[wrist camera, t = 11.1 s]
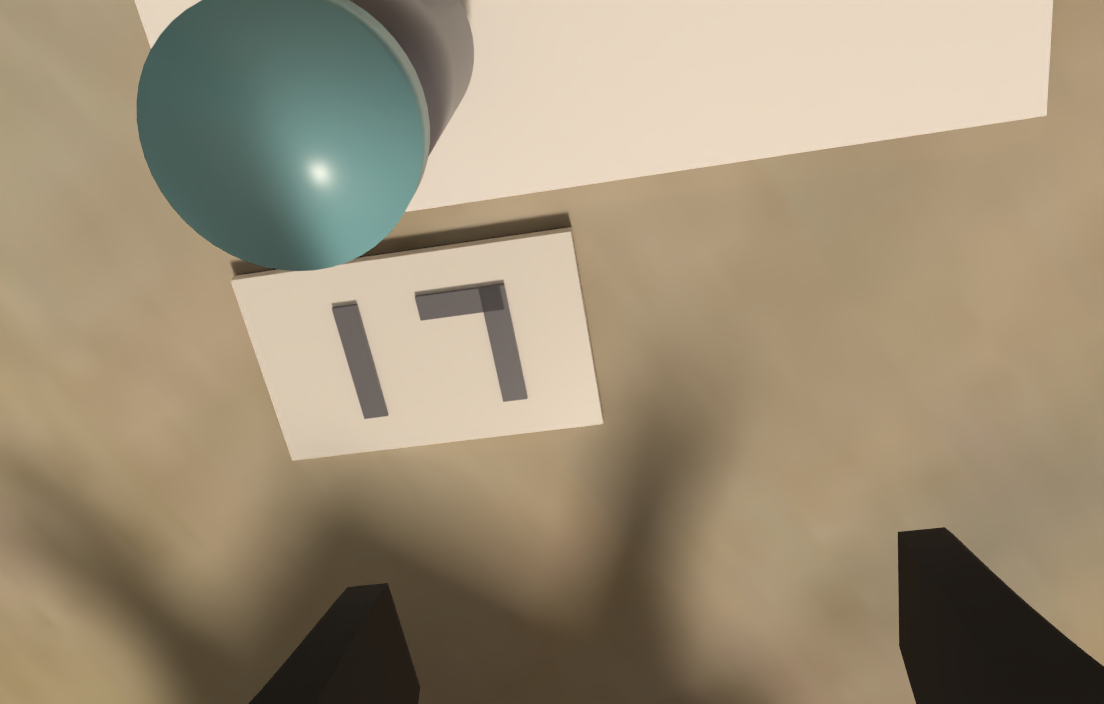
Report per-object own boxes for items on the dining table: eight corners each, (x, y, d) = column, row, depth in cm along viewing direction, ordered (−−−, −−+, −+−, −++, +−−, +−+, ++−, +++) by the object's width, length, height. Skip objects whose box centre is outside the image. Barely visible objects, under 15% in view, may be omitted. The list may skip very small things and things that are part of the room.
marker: (465, -72, 18) (385, -34, 12) (498, 123, 20) (445, 255, 13) (276, -43, 19) (94, 10, 12) (324, 145, 20) (188, 284, 14)
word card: (571, 227, 21) (570, 232, 21) (603, 417, 23) (603, 425, 23) (235, 275, 22) (229, 281, 22) (295, 454, 24) (290, 462, 24)
